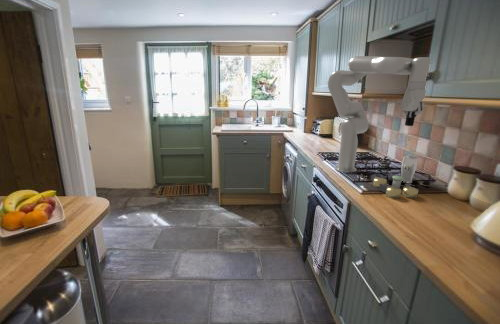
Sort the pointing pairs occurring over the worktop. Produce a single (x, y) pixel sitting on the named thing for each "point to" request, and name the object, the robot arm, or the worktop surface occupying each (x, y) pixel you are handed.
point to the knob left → (378, 181)
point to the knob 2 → (409, 191)
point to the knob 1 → (390, 191)
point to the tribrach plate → (397, 181)
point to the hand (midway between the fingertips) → (408, 125)
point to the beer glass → (408, 168)
